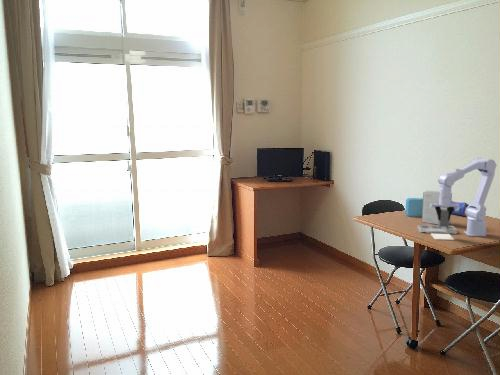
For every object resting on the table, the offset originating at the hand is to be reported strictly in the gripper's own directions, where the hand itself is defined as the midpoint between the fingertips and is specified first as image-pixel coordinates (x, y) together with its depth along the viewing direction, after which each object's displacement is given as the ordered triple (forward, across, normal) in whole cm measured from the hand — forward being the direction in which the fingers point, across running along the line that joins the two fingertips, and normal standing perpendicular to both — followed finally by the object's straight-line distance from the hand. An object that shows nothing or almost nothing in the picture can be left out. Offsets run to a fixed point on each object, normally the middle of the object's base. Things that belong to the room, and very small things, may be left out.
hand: (443, 219), depth 232 cm
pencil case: (+11, -21, -57) cm, 62 cm away
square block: (+3, 0, 0) cm, 3 cm away
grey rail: (+10, 0, -12) cm, 16 cm away
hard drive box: (+10, -4, -31) cm, 33 cm away
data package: (+10, +5, -48) cm, 49 cm away
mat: (+10, 0, 0) cm, 10 cm away
